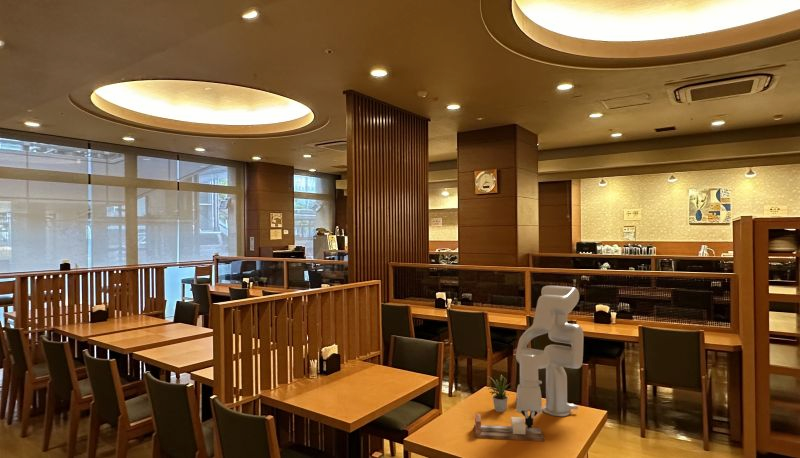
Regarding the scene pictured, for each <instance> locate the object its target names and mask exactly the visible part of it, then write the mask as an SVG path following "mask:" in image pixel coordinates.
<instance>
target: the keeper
mask: <svg viewBox="0 0 800 458" xmlns="http://www.w3.org/2000/svg"><path fill="white" fill-rule="evenodd" d="M524 419H525V418H524V417H523V416H522V417H519V416H516V417H515V416H511V417H510V426H511V427H512V429H513V434H525V432H526V427H527V425H526V424H525V420H524Z"/></svg>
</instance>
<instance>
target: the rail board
mask: <svg viewBox="0 0 800 458" xmlns="http://www.w3.org/2000/svg"><path fill="white" fill-rule="evenodd" d="M474 415H475V416H474V420H475V421H474V423H475V424H473V431H474V438H477V439H478V438H479V439H481V438H482V439H495V440H496V439H497V440H500V439H501V440H517V441H535V442H537V441H538V442H545V436H544V434H543V432H542V429H541V428H540V427H532V428H528V427H527V426H526V432H525V434H513V429H512V427H511V425H510V426H509V425H508V426H507V425H490V424H489V425H488V424H482V421H481V420H482V418H481V414H479V413H478V414H477V413H475V414H474Z"/></svg>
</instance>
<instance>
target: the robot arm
mask: <svg viewBox="0 0 800 458" xmlns="http://www.w3.org/2000/svg"><path fill="white" fill-rule="evenodd" d="M579 300H580V292H579V290H578V289H577V288H576V287H573V286H564V285H563V286H562V285H545V286H543V287H542V288H541V295H540V296H539V297H538V299H537V301H536V309H535V312H534V316H533V321H532V322H533V323H532V325H531V326H530V327H528V328H527V329H526V330H525V331H524V332H523V333H522V335H521V336H520V337H519V340H518V343H517V347H516V351H515V352H516V353H515V359H516V362H517V363H518V364H519V384H517V388H516V400H515V401H516V402H515V405H516V407H515V411H516V413H518V414H522V416H523V417H524V419H525V420H524V422H525V424H526V427H528V428H533V426H534V418H535V417H536V416H537V415H541V414H543V412H544V413H545V414H547V415H550V416H553V417H567V416H570V415H571V413H572V411H571V410H578V409H579V407H578V405H577V404H574V403H569V402H568V375H567V372H566V370H565V368H569V369H576V370H577V369H580V368H581V367H582V365H583V360H584V358H583V357H584V330H583V328H582V326H581V325H579V324H576V323H568V315H569V314H570V313H571V312H572V311H573V309H574V308H575V307H576V306H577V305H578V303H579ZM546 334H548V339H549V340H550V341H552V342H555V343H562V344H568V345H571V346H565V345H560V344H549V345H546V346H545V347H544V349H543V350H542V349H536V348H530V347H528V344H529V343H530V341H532V340H533V339H534V338H536V337H538V336H542V335H546ZM542 369H545V405H543V400H542V391H541V386H540V385H542V384H543V381H542V380H540V379H539V370H542ZM528 412H529V413H528Z"/></svg>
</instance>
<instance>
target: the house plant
mask: <svg viewBox="0 0 800 458" xmlns="http://www.w3.org/2000/svg"><path fill="white" fill-rule="evenodd" d="M487 377H488V378H490V379H491V380H492V383H491V381H489V380H488V383H491V385H488V386H489V387H488V390H490V391H489V394H491V395H493V394H494V395H493V396H492V400H493V401H492V402H493V408H494V410H495V412H498V413H504V412H506V411H507V404H508V400H509V399H508V396H509V393H508V394H507V391H509V390H511V388H509V389H507V388H508V387H509V386H510V384H512V382H510V383H509V384H507V383H508V382H507V381H508V378H507V379H506V378H504V376H503V375H502V374H501V375H500V377H499V380H498V379H495V380H494V379H493V378H492V377H491V376H489V375H487ZM503 378H504V379H503ZM502 381H503V382H502ZM492 386H493V387H492ZM506 390H507V391H506Z"/></svg>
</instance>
